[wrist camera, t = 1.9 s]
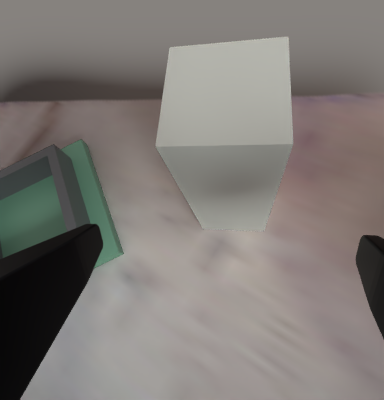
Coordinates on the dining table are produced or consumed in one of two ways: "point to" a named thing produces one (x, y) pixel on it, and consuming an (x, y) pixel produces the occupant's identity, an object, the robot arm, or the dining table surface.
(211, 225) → the white rectangular block
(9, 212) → the green and grey tray
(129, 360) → the dining table surface
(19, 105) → the dining table surface
